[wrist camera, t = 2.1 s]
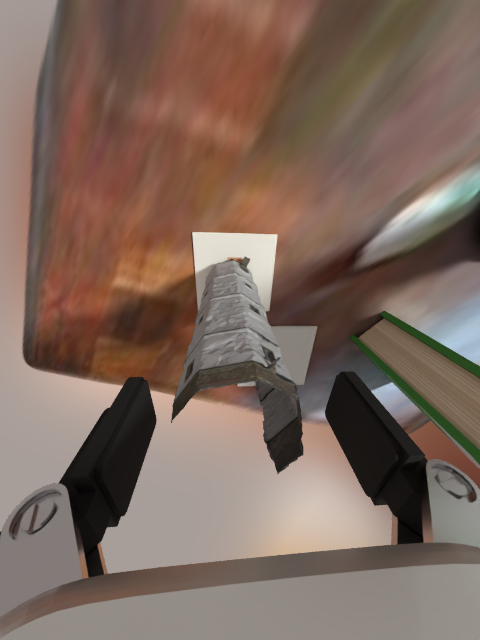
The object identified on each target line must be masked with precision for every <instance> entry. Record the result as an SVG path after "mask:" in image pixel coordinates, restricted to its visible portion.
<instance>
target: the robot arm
mask: <svg viewBox="0 0 480 640" xmlns="http://www.w3.org/2000/svg"><path fill="white" fill-rule="evenodd" d="M325 415H326V418H327V420H328V422H329V424H330V426H331V428H332V430H333V432H334V434H335V436H336V438H337V440H338V442H339V444H340V446H341V448H342V449H343V451H344V453H345V455H346V457H347V459H348V461H349V463H350V465H351V467H352V469H353V471H354V473H355V475H356V477H357V479H358V481H359V483H360V485H361V487H362V488H363V490H364V492H365V494H366V495H367V496H368V497H370V498H371V500H372V502H373V503H374V505H388V506H389V508H390V510H391V512H392V541H391V545H385V546H374V547H362V548H351V549H341V550H330V551H319V552H309V553H298V554H288V555H278V556H268V557H257V558H247V559H237V560H227V561H219V562H218V561H217V562H208V563H198V564H188V565H179V566H169V567H159V568H152V569H143V570H136V571H128V572H120V573H112V574H108V573H107V569H106V565H105V560H104V556H103V552H102V548H101V544H100V542H101V541H102V538H103V536H104V533H105V531H106V528H107V527H116V526H118V523H119V520H120V517H121V516H124V515H125V514H126V512H127V509H128V507H129V504H130V500H131V498H132V495H133V492H134V489H135V485H136V483H137V480H138V476H139V474H140V470H141V467H142V465H143V462H144V458H145V455H146V453H147V449H148V447H149V443H150V440H151V437H152V435H153V432H154V429H155V425H156V415H155V411H154V406H153V402H152V398H151V394H150V390H149V385H148V382H147V380H144V378H143V377H129V378H128V379H127V381H126V382H125V384H124V386H123V387H122V389H121V390H120V392H119V394H118V396H117V397H116V399H115V401H114V402H113V404H112V405H111V407H110V408H107V409H106V410H105V411H104V412H103V414H102V415H101V416H100V418H99V420H98V421H97V423H96V424H95V426H94V428H93V429H92V431H91V432H90V434H89V435H88V437H87V439H86V440H85V442H84V443H83V445H82V447H81V448H80V450H79V451H78V453H77V455H76V456H75V458H74V460H73V461H72V463H71V464H70V466H69V467H68V469H67V471H66V472H65V474H64V475H63V477H62V479H61V480H60V482H59V483H58V484H56V483H53V484H50V485H46V486H44V487H42V488H40V489H38V490H36V491H34V492H33V493H32V494H30V495H29V496H28V497H26V498H25V499H24V500H23V501H22V502H21V503H20V504H19V505H18V506H17V507H16V508H15V509H14V510H13V512H12V513H11V514H10V515H9V517H8V519H7V520H6V522H5V524H4V526H3V528H2V531H1V532H0V640H480V490H479V489H478V487H477V486H476V484H475V483H474V482H473V481H472V480H471V479H470V478H469V477H468V476H467V475H466V474H465V473H463V472H462V471H461V470H459V469H458V468H456V467H455V466H453V465H451V464H450V463H447V462H444V461H442V460H437V459H433V460H429V461H427V460H426V458H425V457H424V456H425V455H424V453H423V452H422V451H421V450H420V449H419V447H418V446H417V445H416V444H415V443H414V441H413V440H412V439H411V438H410V437H409V436H408V434H407V433H406V432H405V431H404V430H403V429H402V427H401V426H400V425H399V424H398V423H397V422H396V420H395V419H394V418H393V417H392V416H391V414H390V413H389V412H388V411H387V410H386V409H385V407H384V406H383V405H382V404H381V403H380V402H379V400H378V399H377V398H376V397H375V396H374V395H373V393H372V392H371V391H370V390H369V389H368V387H367V386H366V385H365V384H364V383H363V382H362V380H361V379H360V378H359V377H358V376H357V375H356V373H354V372H340V374H339V375H337V376H336V379H335V382H334V385H333V388H332V391H331V394H330V397H329V401H328V404H327V407H326V410H325Z"/></svg>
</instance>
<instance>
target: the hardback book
mask: <svg viewBox="0 0 480 640" xmlns="http://www.w3.org/2000/svg"><path fill="white" fill-rule="evenodd" d="M380 315H381V316H382V317H383V320H381V321H380V322H379V323H377V324H376V325H374V326H373V327H372V328H370V329H369V330H368V331H366V332H365V333H364V334H362V335H361V336H360V337H358V338H357V337H356V336H355V335H354V334H353V335H352V336H351V337H349V338H350V339H351V340H352V341H353V342H354V343H355V344H356V345H357V346H358V347H359V348H360V349H361V350H362V351H363V352H364V353H365V354H366V355H367V356H368V357H369V358H370V359H371V361H372V362H373V363H374V364H375V365H376V366H377V367H378V368H379V369H380V370H381V371H382V372H383V373H384V374H385V375H386V376H387V377H388V378H389V379H390V380H391V381H392V382H393V383H394V384H395V385H396V386H397V387H398V388H399V389H400V390H401V391H402V392H403V393H404V394H405V395H406V396H407V397H408V398H409V399H410V400H411V401H412V402H413V403H414V404H415V405H416V406H417V407H418V408H419V409H420V410H421V411H422V412H423V413H424V414H425V415H426V416H427V417H428V418H429V419H430V420H431V421H432V422H433V423H434V424H435V425H436V426H437V427H438V428H439V429H440V430H441V431H442V432H443V433H444V434H445V435H446V436H447V437H448V438H449V439H450V440H451V441H452V442H453V443H454V444H455V445H456V446H457V447H458V448H459V449H460V450H461V451H462V452H463V453H464V454H465V455H466V456H467V457H468V458H469V459H470V460H471V461H472V462H473V463H475V465H476V466H477V467H478V468H479V469H480V366H478V365H476V364H475V363H473V362H471V361H470V360H468V359H466V358H464V357H463V356H461V355H459V354H458V353H456V352H454V351H452V350H451V349H449V348H447V347H446V346H444V345H442V344H440V343H439V342H437V341H435V340H434V339H432V338H430V337H429V336H427V335H425V334H423V333H422V332H420V331H418V330H417V329H415V328H413V327H411V326H410V325H408V324H406V323H405V322H403V321H401V320H399V319H398V318H396V317H394V316H393V315H391V314H389V313H387V312H386V311H384V312H382V313H381V314H380Z"/></svg>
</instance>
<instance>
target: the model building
mask: <svg viewBox="0 0 480 640" xmlns="http://www.w3.org/2000/svg"><path fill="white" fill-rule="evenodd" d="M249 261H250V258H247V257H244V258H243V261H242V262H241V263H239V262H237V261H235V260H234V259H230V260H229V261H226V262H222V263H217V264H216V265H214V267H213V268H212V270H211V271H210V273H209V275H208V277H206V278H207V279H206V281H205V289H204V292H203V294H202V298H201V305H200V308H199V311H198V315H197V317H196V320H195V326H196V327H195V328H194V333H193V336H192V342H191V343H190V345H189V346H188V351H187V358H186V360H185V362H184V364H183V370H184V372H183V374H182V376H181V378H180V381H179V384H178V388H177V391H176V395H175V399H174V403H173V413H172V420H173V419H174V418H175V417H176V416H177V415H178V413H179V412H180V411H181V410H182V409H183V408H184V407H185V405H186V404H187V402H188V401H189V400H190V399H191V398H192V397H193V396H194V395H195V394H196V393H197V392H199V391H200V390H205V389H209V388H217V387H222V386H228V385H232V384H246V383H248V382H255V387H256V389H257V390H258V397H259V399H260V405H261V406H263V415H264V422H263V429H264V435H263V436H264V441H265V443H266V444H267V449H268V452H269V453H270V457H271V459H272V460H273V461H274V463H275V467H276V470H277V473H279V472H281V471H282V470H284V469H285V468H286V467H288V466H289V464H290V463H291V462H294V461H296V460H297V459H298V457H300V456H302V455H303V444H302V441H301V438H302V434H303V433H302V423H301V420H302V417H301V409H300V404H299V398H298V394H297V389H296V384H295V383H294V382H293V380H292V377H291V375H290V373H289V371H288V368H287V366H286V365H285V364H284V363H283V359H282V353H281V349H280V346H278V345H277V341H276V338H275V336H274V334H273V332H272V329H271V327H270V325H269V324H268V319H267V315H266V311H265V308H264V306H263V305H262V304H261V301H260V297H259V295H258V289H257V286H256V284H255V283H254V282H253V277H252V273H251V272H250V270H249V269H248V268H247V265H248V263H249ZM171 423H172V421H171Z"/></svg>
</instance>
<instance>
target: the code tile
mask: <svg viewBox="0 0 480 640" xmlns="http://www.w3.org/2000/svg"><path fill="white" fill-rule="evenodd" d="M192 235H193V248H194V262H195V276H196V290H197V304H198V311H199V308H200V305H201V298H202V294H203V292H204V289H205V281H206V279H207V278H206V277H208V275H209V273H210V271H211V270H212V268H213V267H214V265H216V264H217V263H222V262H226V261H229V260H230V259H234V260H235V261H237V262H239V263H241V262H242V261H243V258H244V257H247V258H250V261H249V263H248V265H247V268H248V269H249V270H250V272H251V273H252V277H253V282H254V283H255V284H256V286H257V289H258V295H259V297H260V301H261V304H262V305H263V306H264V308H265V311H269V309H270V300H271V290H272V281H273V271H274V262H275V253H276V243H277V234H244V233H210V232H192Z"/></svg>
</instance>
